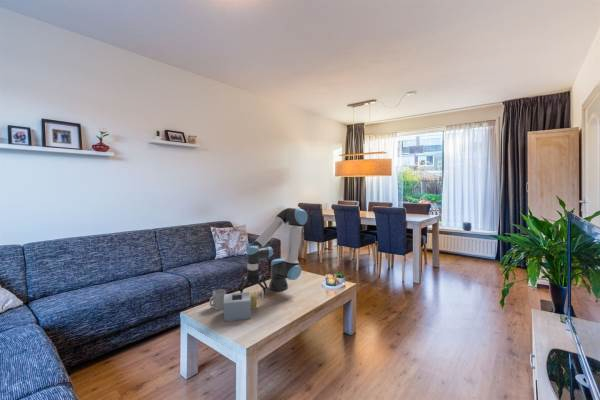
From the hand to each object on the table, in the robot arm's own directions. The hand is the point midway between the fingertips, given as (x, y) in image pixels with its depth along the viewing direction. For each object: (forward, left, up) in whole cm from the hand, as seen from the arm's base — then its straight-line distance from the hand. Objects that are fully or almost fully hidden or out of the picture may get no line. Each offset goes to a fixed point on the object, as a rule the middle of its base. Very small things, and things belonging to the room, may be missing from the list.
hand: (252, 299), depth 201 cm
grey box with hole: (+11, +12, -4) cm, 17 cm away
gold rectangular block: (0, 0, -5) cm, 5 cm away
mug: (+23, -1, -5) cm, 24 cm away
